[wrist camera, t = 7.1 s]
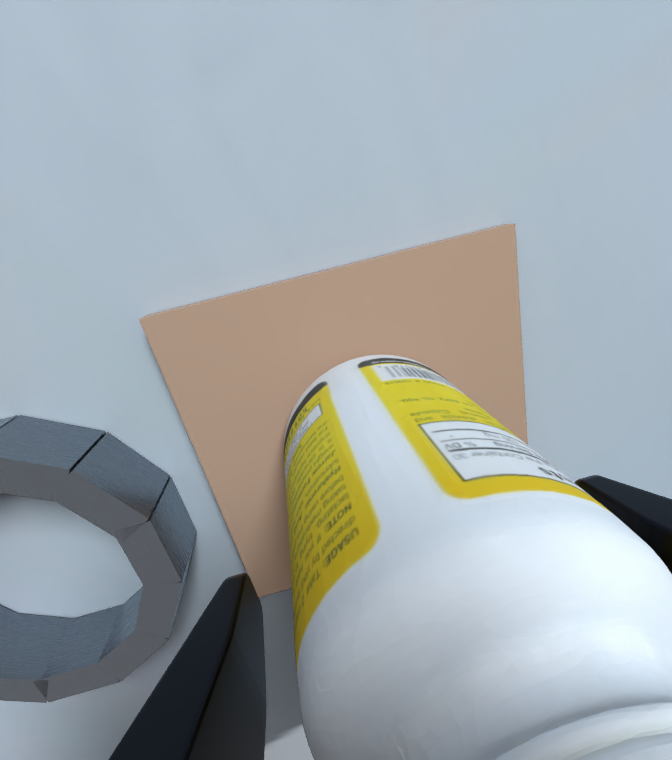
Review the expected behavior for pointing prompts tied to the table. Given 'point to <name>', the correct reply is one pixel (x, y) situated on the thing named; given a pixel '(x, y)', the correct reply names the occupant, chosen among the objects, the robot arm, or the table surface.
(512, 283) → the mat
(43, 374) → the table surface
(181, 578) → the collar
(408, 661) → the supplement bottle
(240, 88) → the table surface
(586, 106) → the table surface
